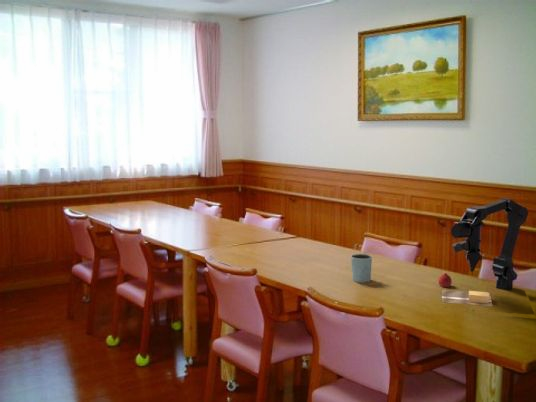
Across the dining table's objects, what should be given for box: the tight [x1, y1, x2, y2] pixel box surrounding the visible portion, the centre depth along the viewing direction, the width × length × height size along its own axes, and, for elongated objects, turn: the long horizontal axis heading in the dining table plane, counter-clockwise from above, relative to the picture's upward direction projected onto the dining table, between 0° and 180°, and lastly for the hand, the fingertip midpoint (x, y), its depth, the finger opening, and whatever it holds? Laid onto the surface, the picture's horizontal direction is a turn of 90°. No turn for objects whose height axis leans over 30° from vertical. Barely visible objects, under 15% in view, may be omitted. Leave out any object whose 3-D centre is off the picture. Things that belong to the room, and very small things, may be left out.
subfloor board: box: [441, 289, 493, 307], centre depth 253 cm, size 20×18×2 cm
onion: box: [437, 271, 453, 288], centre depth 270 cm, size 6×6×8 cm
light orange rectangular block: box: [468, 290, 490, 303], centre depth 248 cm, size 8×6×3 cm
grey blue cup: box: [350, 253, 373, 284], centre depth 285 cm, size 10×10×12 cm
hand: (471, 271), depth 257 cm, fingers closed
